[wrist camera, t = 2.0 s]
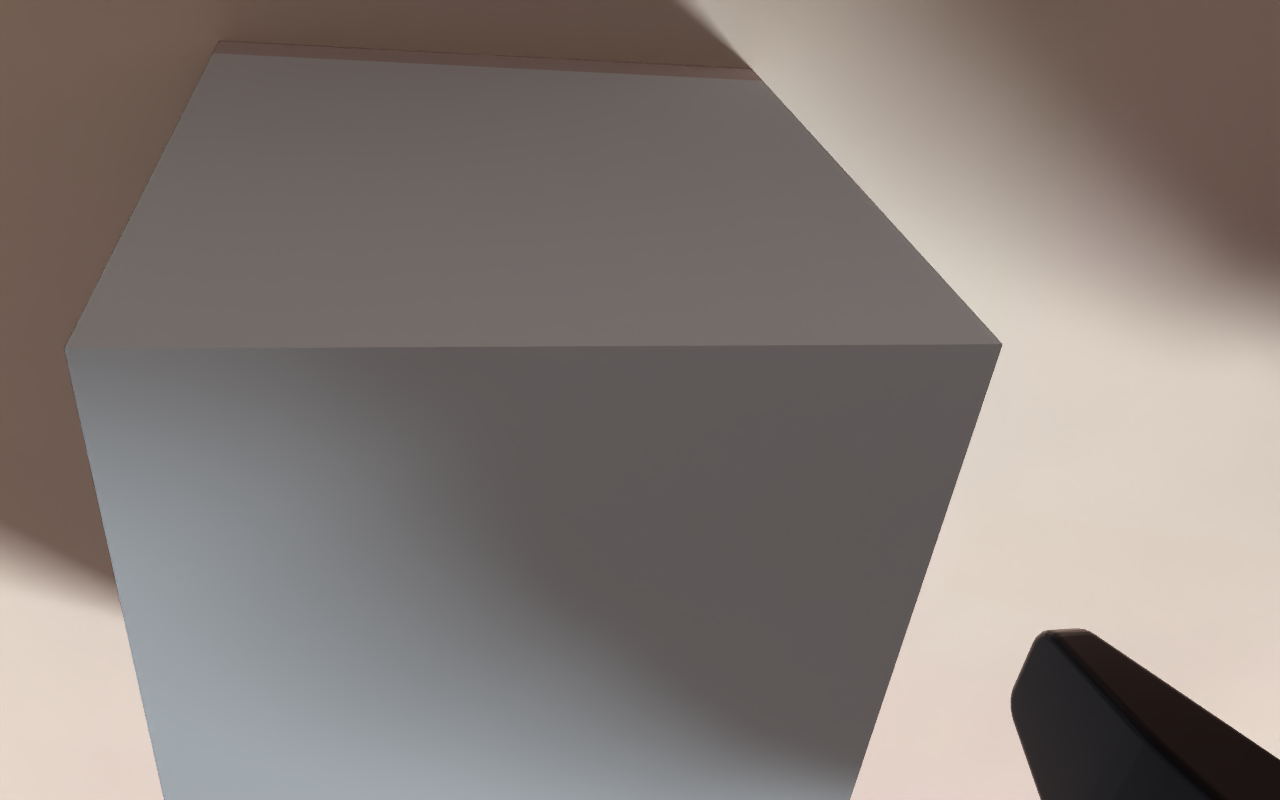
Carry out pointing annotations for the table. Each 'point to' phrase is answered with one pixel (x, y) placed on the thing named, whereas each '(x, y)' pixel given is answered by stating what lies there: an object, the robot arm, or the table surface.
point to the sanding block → (514, 433)
